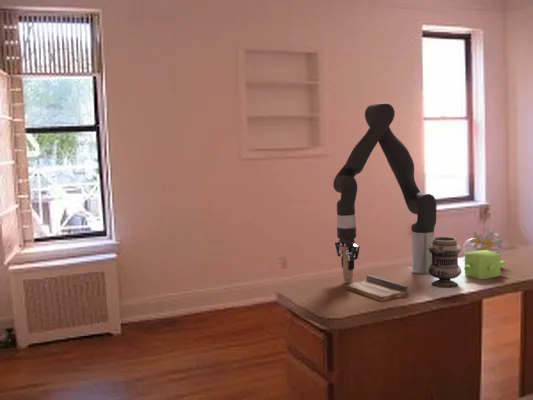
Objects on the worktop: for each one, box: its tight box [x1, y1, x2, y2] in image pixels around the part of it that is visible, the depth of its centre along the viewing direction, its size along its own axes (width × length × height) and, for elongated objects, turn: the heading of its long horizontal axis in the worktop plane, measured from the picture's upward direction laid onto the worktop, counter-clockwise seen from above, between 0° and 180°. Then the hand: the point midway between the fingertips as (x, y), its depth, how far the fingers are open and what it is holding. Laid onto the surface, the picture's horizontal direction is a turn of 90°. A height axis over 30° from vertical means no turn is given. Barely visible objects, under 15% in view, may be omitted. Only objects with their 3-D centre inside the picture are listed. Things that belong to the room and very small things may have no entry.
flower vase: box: [462, 225, 504, 254], centre depth 249 cm, size 13×18×25 cm
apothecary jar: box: [428, 236, 462, 289], centre depth 213 cm, size 12×12×18 cm
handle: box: [339, 246, 354, 284], centre depth 223 cm, size 5×6×15 cm
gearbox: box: [463, 250, 506, 280], centre depth 224 cm, size 18×10×10 cm, turn 108°
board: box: [344, 274, 409, 302], centre depth 208 cm, size 12×22×4 cm, turn 28°
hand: (347, 268), depth 223 cm, fingers closed on handle, 4 cm apart
